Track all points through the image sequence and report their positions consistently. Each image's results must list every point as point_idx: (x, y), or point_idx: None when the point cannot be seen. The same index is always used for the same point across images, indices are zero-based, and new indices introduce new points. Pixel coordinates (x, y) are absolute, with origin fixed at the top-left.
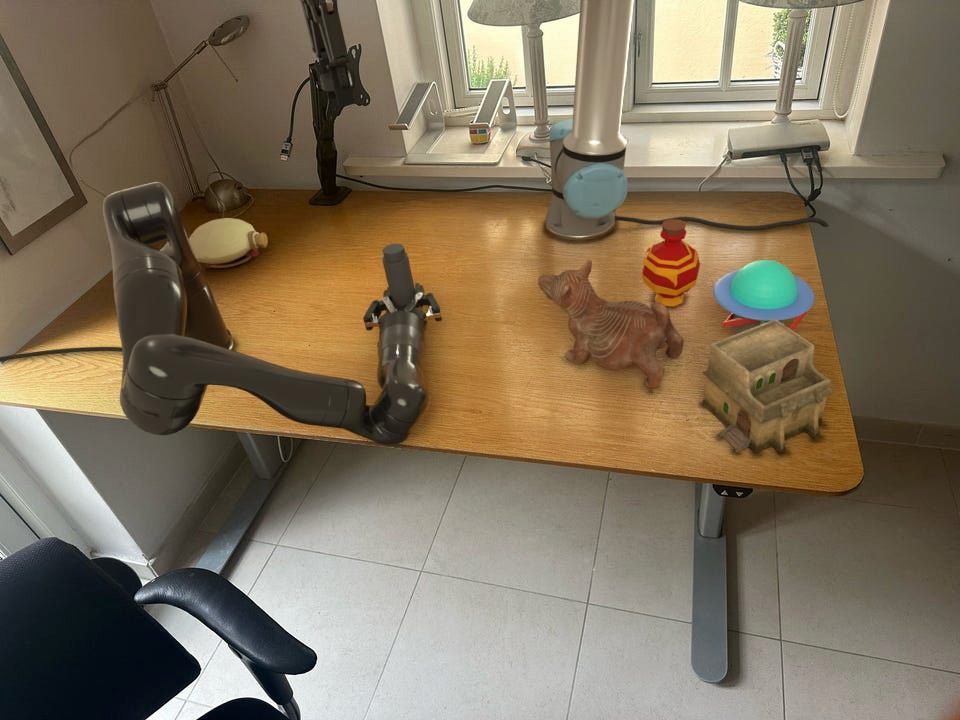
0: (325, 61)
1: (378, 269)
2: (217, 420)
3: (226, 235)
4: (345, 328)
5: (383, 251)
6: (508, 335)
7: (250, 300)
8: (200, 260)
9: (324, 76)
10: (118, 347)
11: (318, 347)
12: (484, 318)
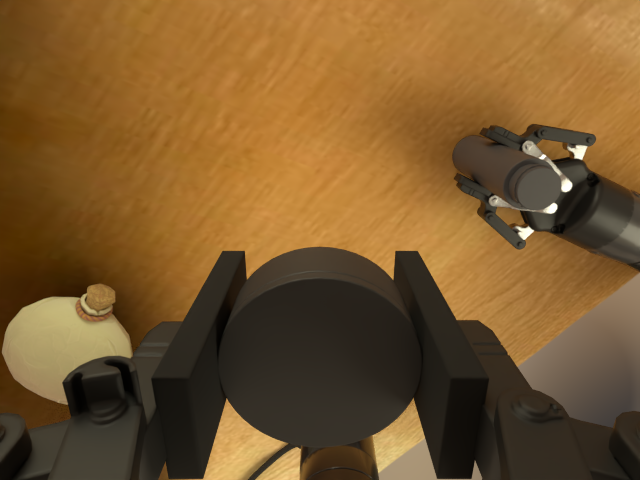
0: (203, 437)
1: (268, 131)
2: None
3: (93, 358)
4: (403, 236)
5: (533, 209)
6: (611, 27)
7: None
8: None
9: (306, 423)
10: (261, 470)
11: None
12: (541, 37)
